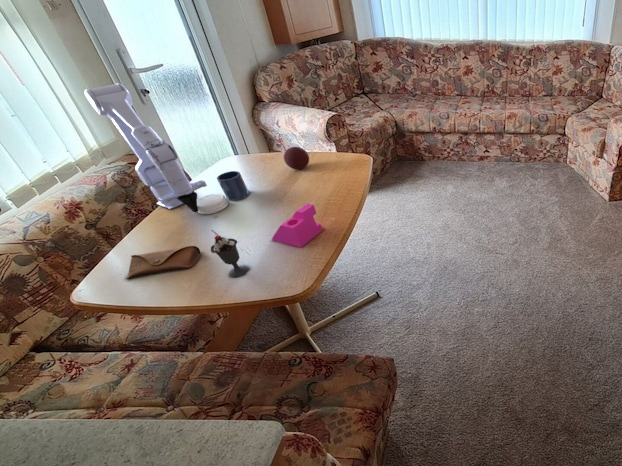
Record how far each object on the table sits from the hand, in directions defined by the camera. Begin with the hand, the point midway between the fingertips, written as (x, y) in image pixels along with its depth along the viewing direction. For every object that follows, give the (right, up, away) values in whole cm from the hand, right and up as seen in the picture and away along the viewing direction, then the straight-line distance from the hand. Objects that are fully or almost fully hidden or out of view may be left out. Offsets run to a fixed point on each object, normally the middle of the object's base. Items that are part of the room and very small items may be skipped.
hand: (195, 211), depth 140 cm
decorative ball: (+22, +21, +32) cm, 44 cm away
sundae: (+33, -20, -25) cm, 46 cm away
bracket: (+44, -9, -10) cm, 46 cm away
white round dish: (+3, +1, +5) cm, 6 cm away
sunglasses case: (+8, -18, -22) cm, 30 cm away
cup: (+7, +7, +13) cm, 16 cm away
